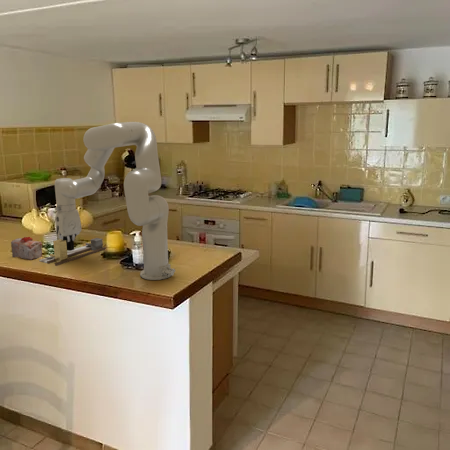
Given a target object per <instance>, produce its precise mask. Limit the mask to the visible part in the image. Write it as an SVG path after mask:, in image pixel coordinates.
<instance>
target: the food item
mask: <svg viewBox="0 0 450 450" xmlns="http://www.w3.org/2000/svg"><path fill="white" fill-rule="evenodd" d="M10 246H11V253H12V254H11V255H12V258H16V257H17V258H20V259H24V260H31V261H32V260H34V259H39V258H41V257H43V245H42V241H37V240H33V238H32V237H31V236H24V237H20V238H16V239H13V240H11V241H10Z"/></svg>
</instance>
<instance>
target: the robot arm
mask: <svg viewBox="0 0 450 450" xmlns="http://www.w3.org/2000/svg"><path fill="white" fill-rule="evenodd" d="M82 138H83V139H82V140H83V144H84V146H85V148H87V150H86V151H85V154H84V155H83V160H84V162H85V164H87V166H88V167H90V170H89V171H88V174H87V175H86V177H82V178H76V179H72V178H70V177H61V178H57V179H55V181H54V192H55V200H56V201H55V202H56V207H54V210H55V211H56V212H55V224H54V225H55V233H56V235H57V237H56V239H57V240H59V239H62V240H66V245H67V251H72V250H74V249H75V243H74V241H75V239H76V237H77V236H78V235H80V234H81V232H82V222H81V217H80V213H79V211H78V209H77V208H76V207H77V206H76V205H77V204H76V199H81V198H84V197H87V196H91V195H94V194H95V193H97V191H98V190H99V189H100V187H101V185H102V184H103V182H104V179H105V175H106V174H105V172H106V171H105V166H106V164H107V162H108V161H109V158H110V157H111V155H112V154H113V152H114V150H115V149H116V148H120V147H126V146H127V147H128V146H136V149H135V153H134V159H135V166H136V168H135V169H133V170H131V171H129V172H127V174H126V175H125V178H124V182H123V192H124V197H125V204H126V209H127V215H128V218H129V219H130V221H131V222H132V223H133V224H134V225H136V226H138V227H139V226H140V227H141V226H142V231H141V234H142V236H141V237H142V244H143V250H142V257H143V270H140V272H139V276H140V278H141V279H144V280H148V281H159V280H166V279H169V278H170V277H173V276H174V274H175V273H176V269H175V268H171V264H170V263H169V250H168V249H169V248H168V247H169V246H168V222H169V221H168V220H169V211H170V209H169V208H170V207H169V204H168V201H167V200H166V199H165V197H163V196H161V195H157V194H154V195H149V194H151V193H154V192H156V191H158V190H159V189H160V188H161V186H162V175H161V167H160V159H159V154H158V153H159V152H158V141H157V137H156V134H155V132H154V130H153V129H152V127H151V126H149V124H148V125H147V124H146V123H143V122H141V121H124V122H112V123H109V124H104V125H99V126H94V127H90V128H88V130H86V131H85V133H84V135H83V137H82Z"/></svg>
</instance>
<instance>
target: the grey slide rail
mask: <svg viewBox="0 0 450 450" xmlns="http://www.w3.org/2000/svg"><path fill="white" fill-rule="evenodd" d="M105 249H106V250H107V248H106V247H105V246H104V245H103V238H99V237H95V238H92V239H90V243H88V242H85V244H84V245H83V246H79V247H76V248H74V250H72V251H69V250H67V256H68V259H66V260H63V261H60V262H55V257H52V256H50V255H49V256H48V257H45V258H42V259H39V262H41V263H45V264H48V265H49V264H51V263H54V266H56V267H57V266H60V265H63V264H66V263H69V262H72V261H75V260H77V259H81V258H84V257H87V256H90V255H94V254H96V253H99V252H102V251H105ZM79 254H80V255H79Z"/></svg>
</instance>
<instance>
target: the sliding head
mask: <svg viewBox="0 0 450 450" xmlns="http://www.w3.org/2000/svg"><path fill="white" fill-rule="evenodd" d="M53 251H54V254H53V253H50V254H49V257H50V256H52V257H55V262H54V263H57V262H60V261H63V260H66V259H69V257H68V256H67V251H68V250H67V245H66V240H63V239H56V240H53Z"/></svg>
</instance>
